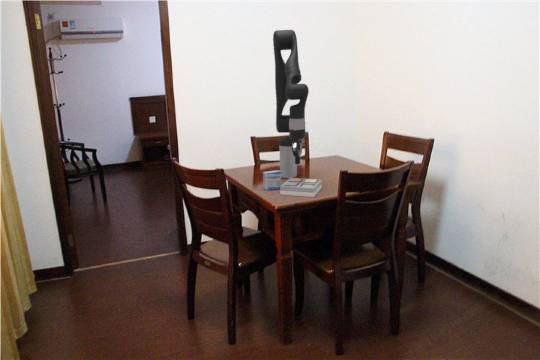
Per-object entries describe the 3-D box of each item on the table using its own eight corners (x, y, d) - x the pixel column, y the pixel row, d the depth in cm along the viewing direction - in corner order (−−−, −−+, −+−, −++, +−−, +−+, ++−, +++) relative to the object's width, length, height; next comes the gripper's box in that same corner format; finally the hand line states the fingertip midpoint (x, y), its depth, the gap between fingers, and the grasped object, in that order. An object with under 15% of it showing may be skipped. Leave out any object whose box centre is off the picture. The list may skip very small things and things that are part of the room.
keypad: (290, 185, 201) (290, 178, 200) (321, 187, 196) (321, 179, 195) (280, 194, 187) (280, 186, 186) (314, 197, 181) (314, 188, 180)
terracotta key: (292, 181, 198) (292, 178, 198) (302, 182, 197) (302, 178, 196) (289, 184, 194) (289, 180, 193) (299, 184, 192) (299, 181, 192)
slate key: (288, 185, 191) (288, 181, 191) (298, 185, 190) (298, 182, 189) (285, 188, 187) (284, 184, 186) (295, 188, 185) (295, 185, 185)
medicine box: (266, 190, 194) (266, 173, 191) (263, 188, 198) (262, 171, 195) (281, 188, 197) (281, 171, 194) (277, 186, 201) (277, 169, 198)
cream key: (307, 182, 196) (307, 178, 195) (317, 182, 194) (317, 179, 194) (304, 184, 191) (304, 181, 191) (314, 185, 190) (314, 182, 189)
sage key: (303, 187, 189) (303, 184, 189) (313, 188, 188) (313, 185, 187) (300, 190, 185) (300, 187, 184) (311, 191, 183) (311, 187, 183)
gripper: (293, 125, 195) (293, 160, 200) (285, 129, 183) (286, 166, 188) (308, 125, 192) (308, 161, 197) (301, 130, 180) (301, 167, 185)
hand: (297, 163), depth 192 cm, fingers closed
